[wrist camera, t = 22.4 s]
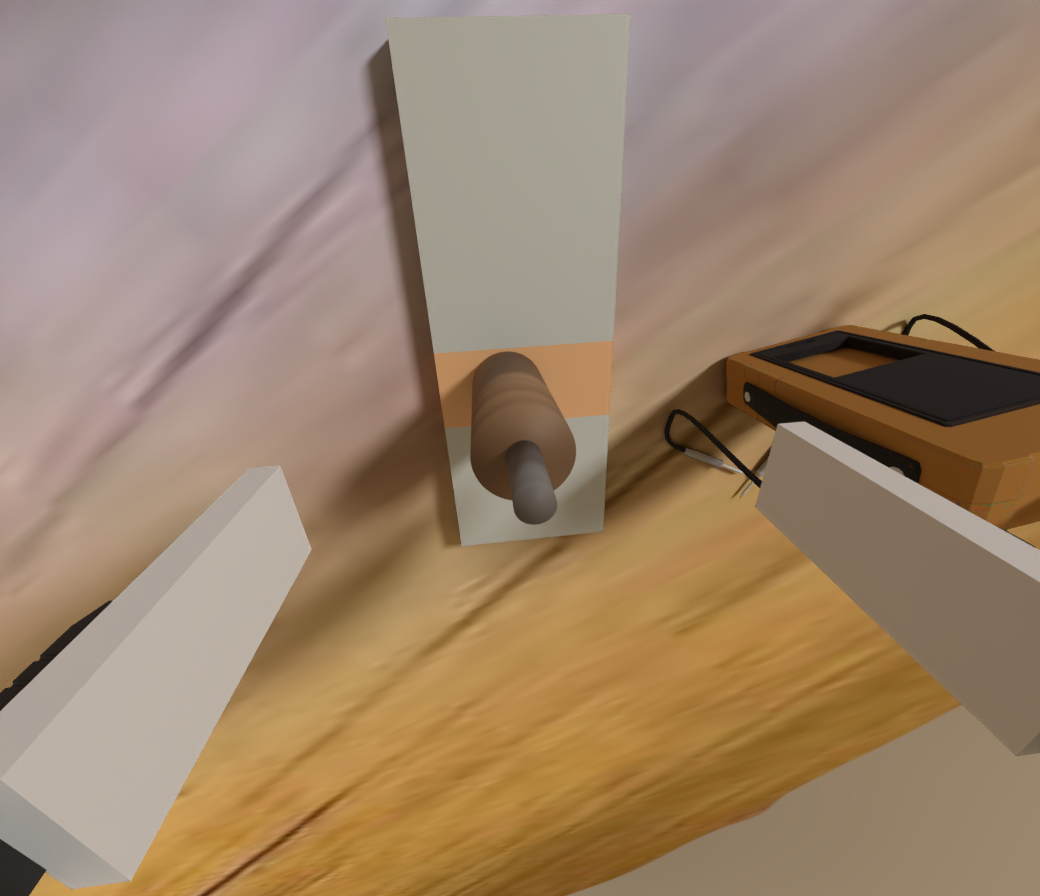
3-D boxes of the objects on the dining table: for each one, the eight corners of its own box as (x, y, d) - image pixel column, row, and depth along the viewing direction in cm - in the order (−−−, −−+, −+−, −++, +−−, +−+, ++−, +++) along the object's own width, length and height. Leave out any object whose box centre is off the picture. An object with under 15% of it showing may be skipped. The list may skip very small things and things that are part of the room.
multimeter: (669, 512, 27) (1052, 1024, 9) (656, 372, 22) (1365, 836, 5) (883, 456, 27) (1715, 871, 9) (913, 303, 22) (2737, 511, 4)
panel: (391, 34, 15) (385, 18, 14) (620, 30, 16) (630, 14, 15) (462, 534, 26) (461, 546, 25) (598, 520, 26) (603, 531, 25)
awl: (466, 357, 20) (456, 459, 10) (537, 346, 20) (597, 436, 10) (479, 423, 21) (481, 567, 12) (545, 413, 22) (603, 547, 12)
